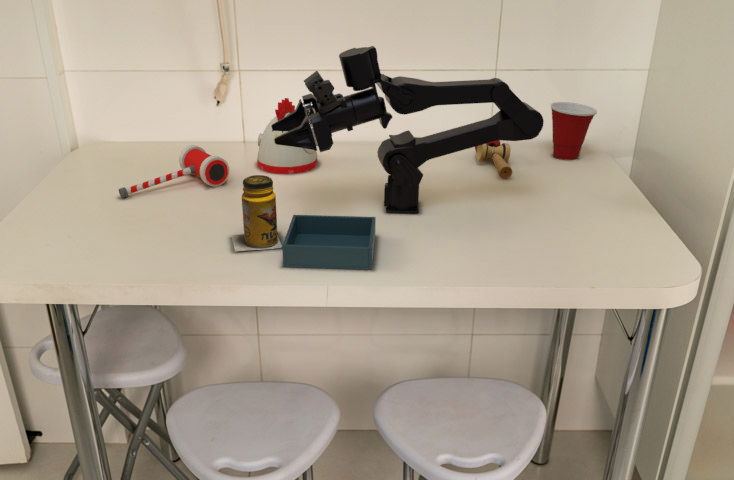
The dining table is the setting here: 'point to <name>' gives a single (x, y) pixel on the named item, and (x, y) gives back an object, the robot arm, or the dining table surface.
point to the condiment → (258, 216)
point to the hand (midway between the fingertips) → (273, 134)
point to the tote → (330, 242)
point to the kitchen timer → (283, 148)
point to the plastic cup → (570, 128)
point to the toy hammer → (190, 170)
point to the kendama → (496, 156)
